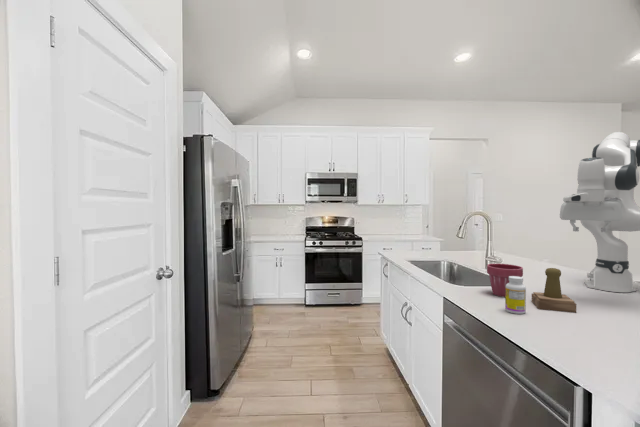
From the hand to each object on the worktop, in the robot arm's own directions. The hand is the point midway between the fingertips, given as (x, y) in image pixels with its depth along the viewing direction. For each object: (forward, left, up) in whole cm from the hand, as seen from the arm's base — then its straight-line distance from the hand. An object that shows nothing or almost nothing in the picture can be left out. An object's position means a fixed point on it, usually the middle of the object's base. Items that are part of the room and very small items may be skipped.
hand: (589, 231), depth 140 cm
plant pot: (-3, -30, -29) cm, 42 cm away
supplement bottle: (+24, -30, -29) cm, 48 cm away
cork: (+11, -15, -25) cm, 31 cm away
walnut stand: (+11, -15, -29) cm, 34 cm away
